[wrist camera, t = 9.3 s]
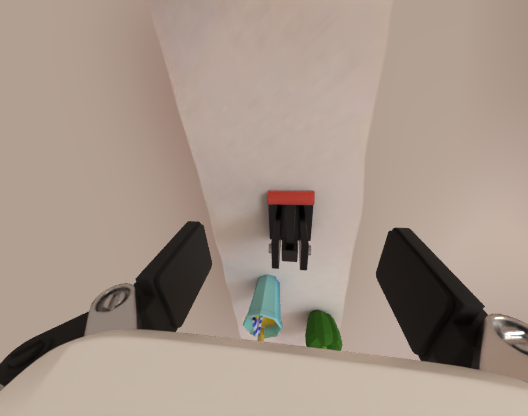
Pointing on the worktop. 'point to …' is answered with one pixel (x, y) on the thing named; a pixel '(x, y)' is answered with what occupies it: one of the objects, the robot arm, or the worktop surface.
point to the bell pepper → (322, 332)
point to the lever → (290, 217)
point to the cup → (265, 309)
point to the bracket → (300, 231)
